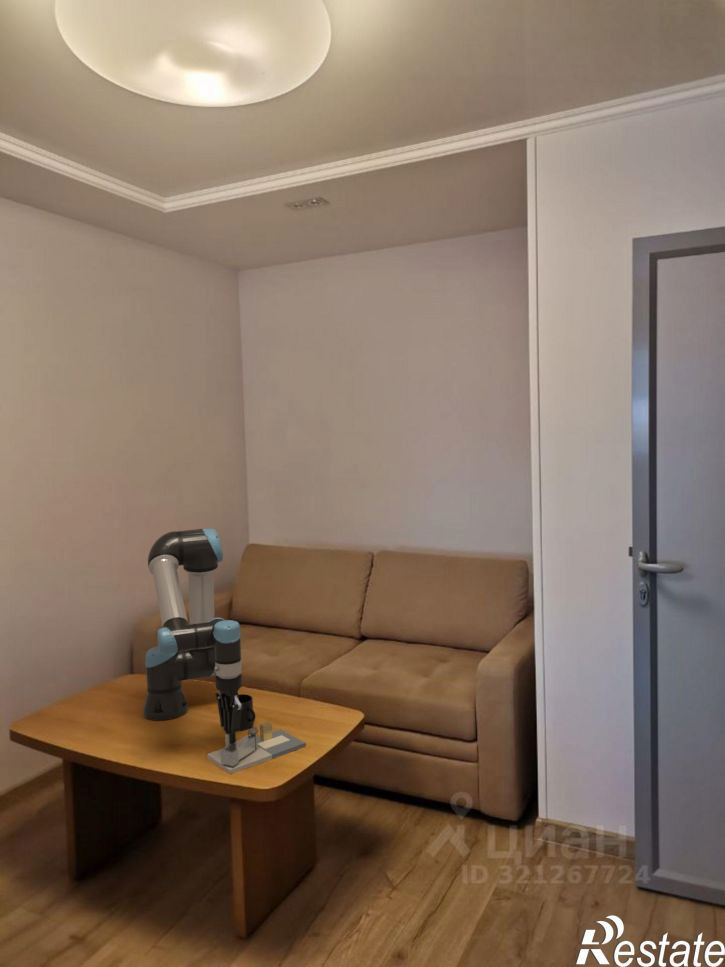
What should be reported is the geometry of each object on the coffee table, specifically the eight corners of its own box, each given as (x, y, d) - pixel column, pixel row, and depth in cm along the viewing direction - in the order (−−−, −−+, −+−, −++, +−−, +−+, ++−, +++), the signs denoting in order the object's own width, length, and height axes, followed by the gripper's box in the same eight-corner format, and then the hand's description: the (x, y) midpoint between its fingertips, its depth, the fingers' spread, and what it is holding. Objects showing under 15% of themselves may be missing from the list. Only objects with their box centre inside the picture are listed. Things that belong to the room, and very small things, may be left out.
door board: (207, 757, 219) (205, 734, 218) (280, 732, 235) (279, 711, 234) (230, 774, 208) (228, 750, 207) (305, 746, 224) (304, 724, 224)
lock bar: (245, 747, 221) (244, 734, 220) (257, 750, 219) (256, 737, 218) (221, 763, 211) (220, 749, 210) (233, 766, 209) (232, 752, 208)
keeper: (260, 739, 227) (259, 724, 227) (268, 736, 229) (267, 721, 229) (264, 741, 226) (263, 726, 225) (272, 739, 228) (271, 723, 227)
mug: (245, 735, 234) (244, 708, 233) (218, 728, 241) (217, 701, 240) (265, 725, 242) (264, 698, 241) (239, 718, 248) (237, 692, 248)
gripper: (206, 672, 216) (209, 749, 218) (227, 683, 206) (230, 764, 208) (229, 666, 220) (231, 741, 222) (250, 677, 211) (253, 756, 213)
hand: (231, 752), depth 215 cm, fingers closed
